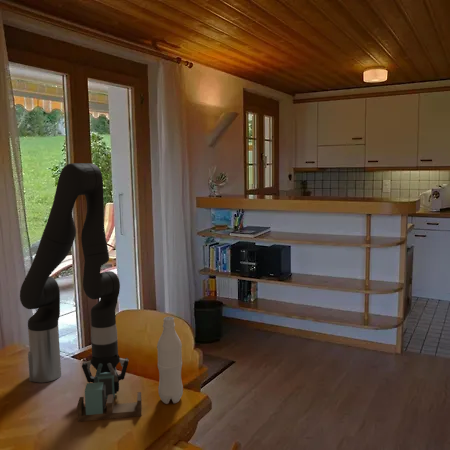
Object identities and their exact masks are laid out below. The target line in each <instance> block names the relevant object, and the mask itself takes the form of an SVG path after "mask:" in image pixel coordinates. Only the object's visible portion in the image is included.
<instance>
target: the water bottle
mask: <svg viewBox="0 0 450 450" xmlns="http://www.w3.org/2000/svg"><path fill="white" fill-rule="evenodd" d="M162 324H163V325H162V332H161V335H160V336H159V339H158V341H157V346H156V348H157V368H158V374H159V375H158V376H159V382H158V396H159V398H160V400H161V402H162V403H163V404H166V405H168V404H169V403H170V401H172V403H173V404H177V403H179V401H180V400H181V398H182V396H183V393H184V386H183V381H182V367H183V359H182V358H183V356H182V355H183V354H182V353H183V352H182V347H183V345H182V340H181V339H180V337H179V335H178V333H177V331H176V329H175V327H176V323H175V318H174V316H165V317H164V318H163V323H162Z"/></svg>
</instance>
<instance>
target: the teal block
mask: <svg viewBox="0 0 450 450" xmlns="http://www.w3.org/2000/svg"><path fill="white" fill-rule="evenodd" d="M98 382H103V384H105V385H106V400H107V398H108V395H110V394H113V395H114V398H115V396H116V394H114V376H112V375H111V373H110V372H109V373H108V372H104V373H100V376H99V377H98Z"/></svg>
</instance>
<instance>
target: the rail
mask: <svg viewBox="0 0 450 450" xmlns="http://www.w3.org/2000/svg"><path fill="white" fill-rule="evenodd" d="M136 396H137V397H136V398H137V399H136V402H126V403H125V402H124V403H115V402H114V399H115V397H114V395H113V394H110V395H108V398H107V399H106V405H105V407H104V410H103V414H93V415H86V407H85V396H79V399H78V400H77V401H78V402H77V405H76V411H77V413H76V414H77V422H87V421H97V420H109V419H110V420H111V419H120V418H121V419H122V418H129V417H130V418H131V417H133V418H134V417H139V416H140V417H142V412H143V411H142V409H143V407H142V406H143V405H142V392H141V391H138V392H137V395H136Z"/></svg>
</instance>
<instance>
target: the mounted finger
mask: <svg viewBox="0 0 450 450" xmlns="http://www.w3.org/2000/svg"><path fill="white" fill-rule="evenodd" d="M106 403H107V399H106V385H105V384H103V382H97V383H92V382H90V383H89V382H87V383H86V385H85V388H84V407H86V415H93V414H103V410H104V407H105V405H106Z"/></svg>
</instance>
